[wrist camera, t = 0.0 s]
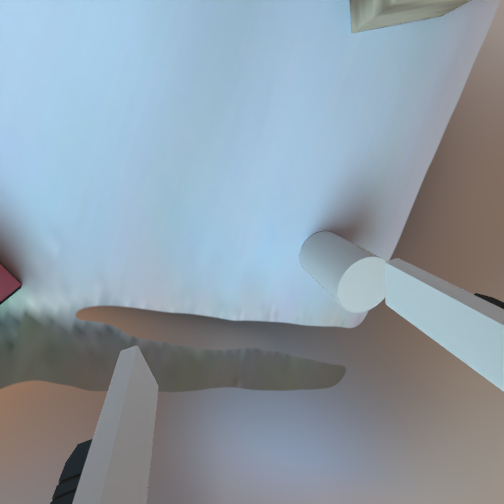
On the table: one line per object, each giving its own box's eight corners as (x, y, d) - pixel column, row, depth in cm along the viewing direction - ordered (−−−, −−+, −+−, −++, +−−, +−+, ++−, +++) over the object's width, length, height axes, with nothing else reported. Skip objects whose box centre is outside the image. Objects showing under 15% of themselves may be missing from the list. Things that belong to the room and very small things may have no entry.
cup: (345, 265, 47) (394, 299, 36) (304, 281, 46) (341, 321, 35) (339, 224, 44) (390, 247, 33) (294, 240, 43) (333, 270, 32)
